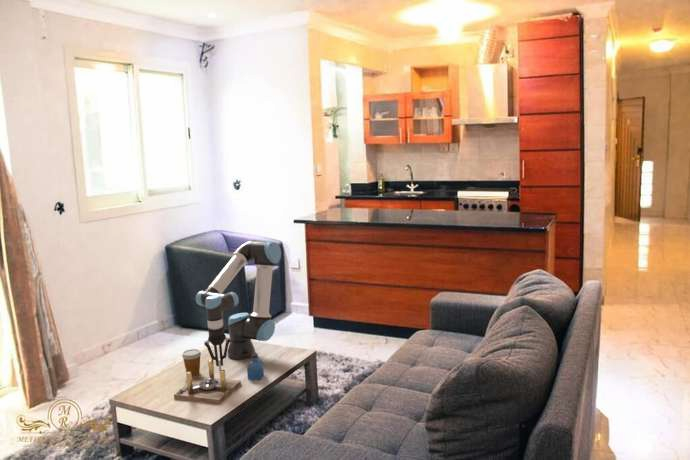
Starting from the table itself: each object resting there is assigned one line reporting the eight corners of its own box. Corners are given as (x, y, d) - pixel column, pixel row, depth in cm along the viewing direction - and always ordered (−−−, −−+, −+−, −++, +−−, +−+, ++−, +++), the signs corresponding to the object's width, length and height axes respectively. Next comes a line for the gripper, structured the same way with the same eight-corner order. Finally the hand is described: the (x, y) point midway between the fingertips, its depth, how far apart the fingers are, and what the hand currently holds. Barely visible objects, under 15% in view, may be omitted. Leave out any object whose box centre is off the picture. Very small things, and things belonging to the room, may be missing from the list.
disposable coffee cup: (202, 369, 302) (200, 347, 300) (202, 376, 293) (200, 354, 291) (184, 371, 300) (182, 350, 298) (183, 379, 291) (181, 356, 289)
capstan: (194, 378, 285) (192, 360, 283) (230, 376, 286) (229, 358, 284) (187, 393, 269) (185, 374, 268) (226, 390, 270) (224, 371, 269)
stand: (198, 379, 290) (197, 372, 289) (241, 384, 282) (240, 377, 282) (174, 398, 270) (173, 391, 269) (219, 404, 263) (218, 396, 262)
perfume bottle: (259, 380, 286) (258, 357, 284) (248, 379, 288) (246, 357, 286) (264, 375, 292) (262, 352, 290) (252, 374, 294) (251, 352, 292)
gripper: (228, 322, 286) (232, 366, 290) (202, 325, 283) (207, 370, 288) (229, 327, 278) (233, 373, 283) (202, 331, 276) (207, 376, 280)
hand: (220, 371), depth 285 cm, fingers closed
